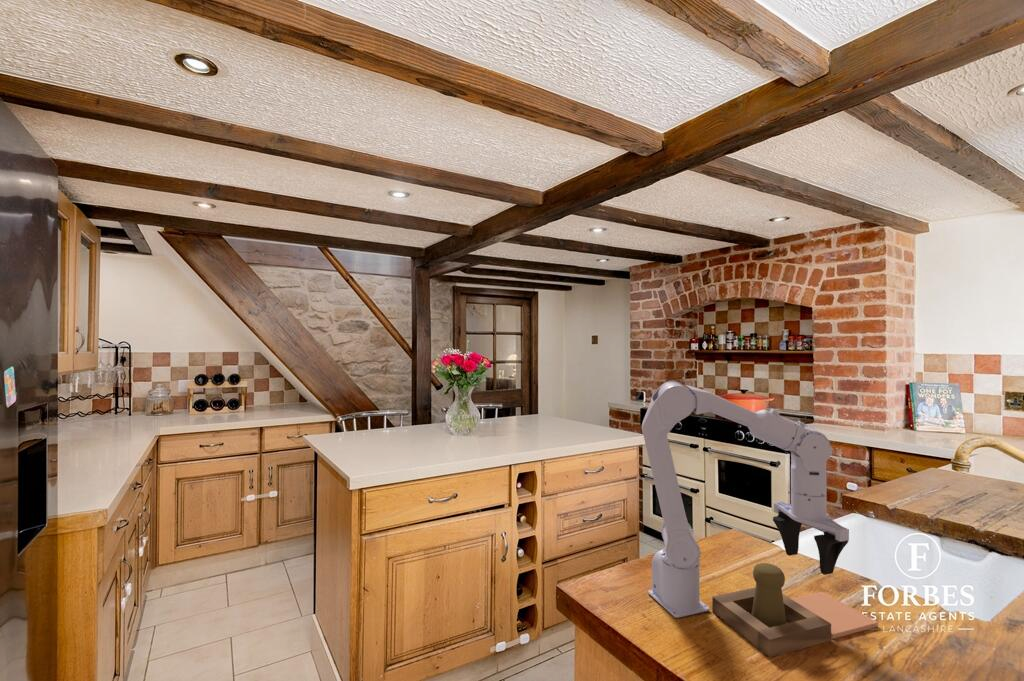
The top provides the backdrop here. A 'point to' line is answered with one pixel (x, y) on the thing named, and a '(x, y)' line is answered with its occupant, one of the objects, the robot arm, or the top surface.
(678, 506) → the robot arm
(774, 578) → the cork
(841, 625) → the terracotta tile
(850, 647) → the top surface
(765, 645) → the walnut holder
